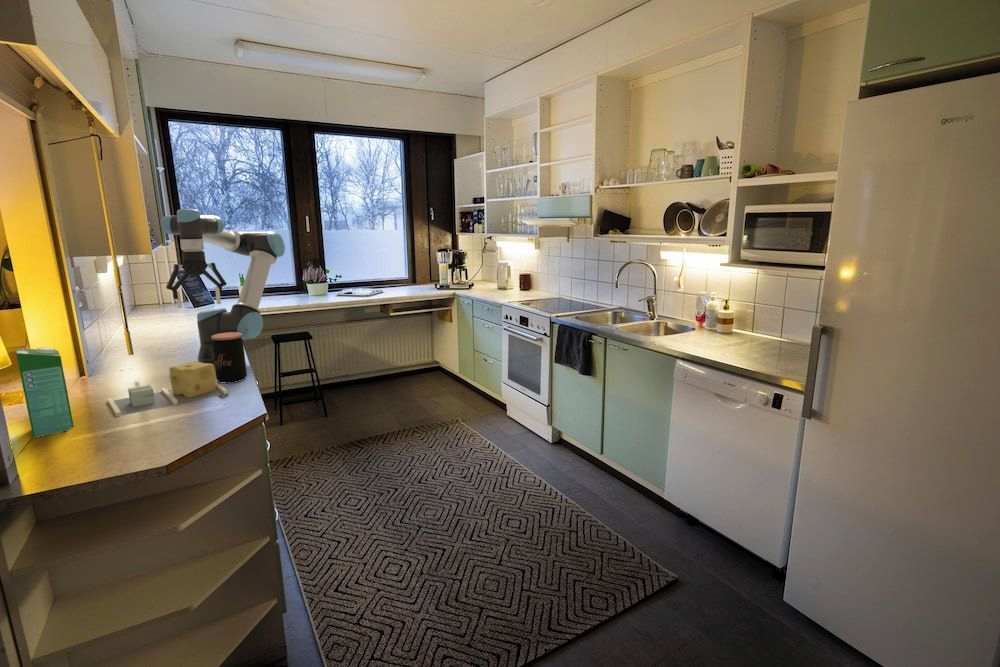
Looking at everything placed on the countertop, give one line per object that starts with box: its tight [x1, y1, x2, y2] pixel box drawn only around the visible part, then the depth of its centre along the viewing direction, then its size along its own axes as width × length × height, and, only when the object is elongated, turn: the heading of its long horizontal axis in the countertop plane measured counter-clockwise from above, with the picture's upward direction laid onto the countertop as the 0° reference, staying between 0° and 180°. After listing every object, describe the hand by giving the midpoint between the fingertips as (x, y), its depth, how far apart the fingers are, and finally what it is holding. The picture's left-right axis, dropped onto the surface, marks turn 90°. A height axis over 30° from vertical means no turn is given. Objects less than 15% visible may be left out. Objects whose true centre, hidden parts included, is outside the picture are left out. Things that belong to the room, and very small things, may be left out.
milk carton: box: [14, 346, 75, 438], centre depth 148 cm, size 9×9×25 cm
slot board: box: [106, 381, 229, 417], centre depth 176 cm, size 19×32×2 cm, turn 134°
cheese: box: [169, 361, 217, 398], centre depth 180 cm, size 10×11×10 cm
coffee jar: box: [211, 332, 248, 384], centre depth 198 cm, size 11×11×18 cm
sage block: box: [127, 384, 155, 407], centre depth 170 cm, size 6×6×5 cm
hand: (199, 305), depth 198 cm, fingers open, 13 cm apart
